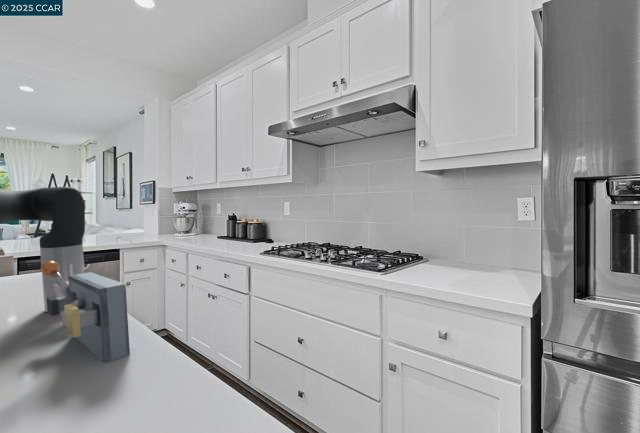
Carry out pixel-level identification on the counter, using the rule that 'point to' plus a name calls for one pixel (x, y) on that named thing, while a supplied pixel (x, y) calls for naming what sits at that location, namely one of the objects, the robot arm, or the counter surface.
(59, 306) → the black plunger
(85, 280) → the block
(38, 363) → the counter surface
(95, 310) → the tan square block
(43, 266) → the lever
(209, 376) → the counter surface
